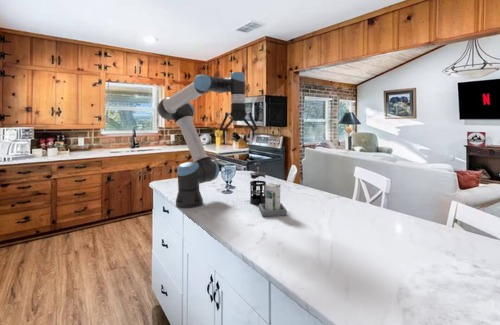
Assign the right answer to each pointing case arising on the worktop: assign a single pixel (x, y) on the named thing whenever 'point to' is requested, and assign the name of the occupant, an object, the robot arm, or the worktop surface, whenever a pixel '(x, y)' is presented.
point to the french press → (257, 196)
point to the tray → (272, 211)
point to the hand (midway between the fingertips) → (238, 143)
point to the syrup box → (272, 196)
